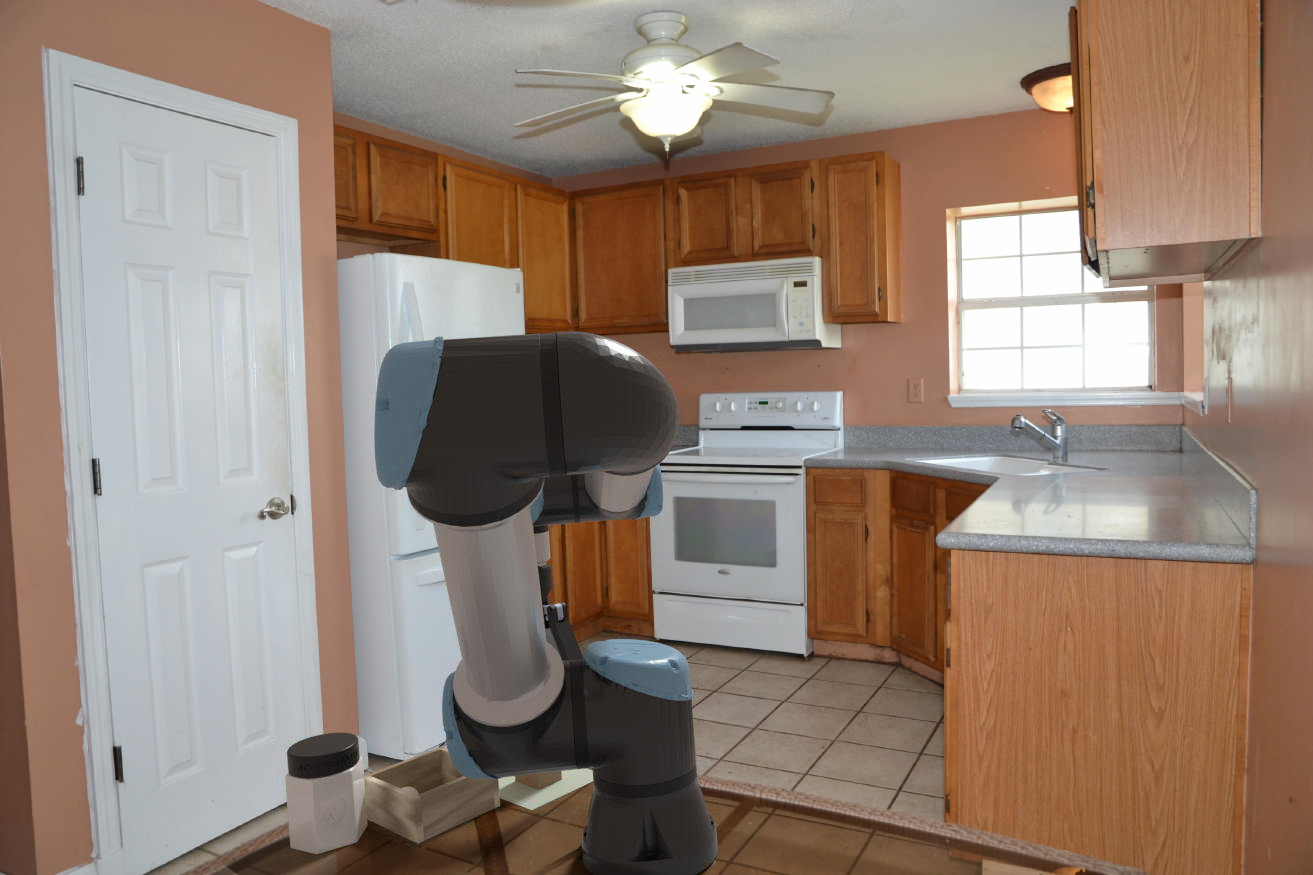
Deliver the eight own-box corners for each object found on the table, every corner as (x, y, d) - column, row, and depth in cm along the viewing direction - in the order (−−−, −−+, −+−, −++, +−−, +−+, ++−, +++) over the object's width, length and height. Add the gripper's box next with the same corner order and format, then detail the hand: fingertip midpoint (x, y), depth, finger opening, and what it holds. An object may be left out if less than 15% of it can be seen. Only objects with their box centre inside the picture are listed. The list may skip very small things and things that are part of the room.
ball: (425, 810, 113) (423, 785, 113) (403, 820, 110) (401, 794, 110) (411, 804, 115) (409, 780, 115) (389, 814, 113) (387, 789, 112)
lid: (607, 783, 121) (602, 715, 120) (532, 819, 111) (527, 746, 111) (544, 762, 129) (540, 699, 129) (470, 794, 120) (465, 726, 120)
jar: (297, 867, 102) (289, 763, 101) (284, 841, 109) (277, 744, 108) (377, 843, 107) (369, 743, 106) (359, 819, 113) (352, 726, 113)
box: (500, 811, 113) (497, 764, 113) (418, 849, 104) (414, 799, 104) (445, 789, 121) (442, 746, 121) (364, 823, 112) (361, 776, 112)
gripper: (608, 564, 114) (619, 730, 114) (488, 557, 131) (498, 701, 131) (564, 573, 108) (576, 748, 108) (445, 564, 125) (455, 715, 125)
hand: (533, 723), depth 120 cm, fingers open, 13 cm apart
